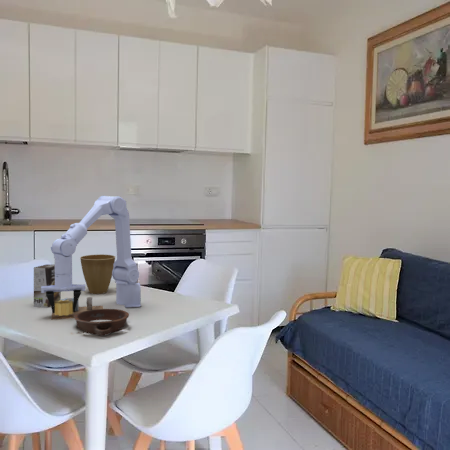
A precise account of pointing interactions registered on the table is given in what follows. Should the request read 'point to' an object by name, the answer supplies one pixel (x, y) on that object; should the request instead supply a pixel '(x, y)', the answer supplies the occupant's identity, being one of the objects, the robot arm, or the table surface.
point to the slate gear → (73, 301)
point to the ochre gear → (63, 307)
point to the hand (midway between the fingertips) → (63, 311)
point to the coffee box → (44, 278)
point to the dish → (103, 327)
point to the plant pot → (97, 272)
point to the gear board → (80, 309)
